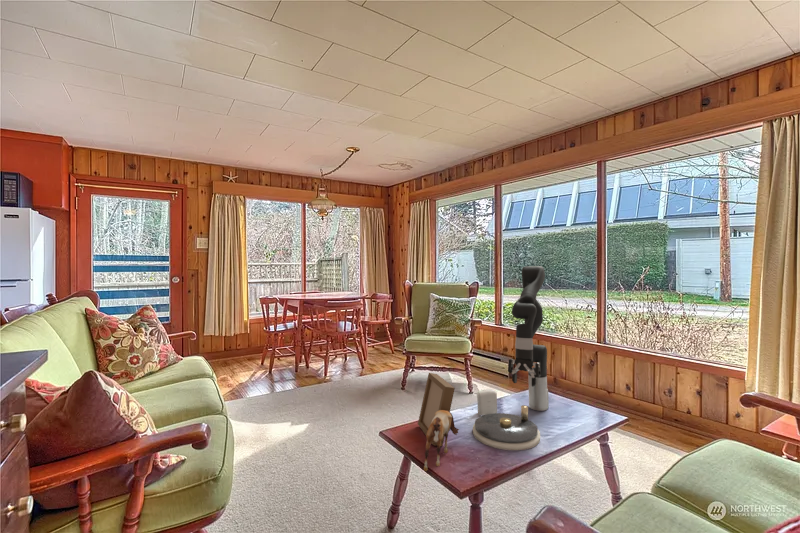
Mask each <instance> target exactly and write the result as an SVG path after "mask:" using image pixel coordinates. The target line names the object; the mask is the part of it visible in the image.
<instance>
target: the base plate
mask: <svg viewBox="0 0 800 533" xmlns="http://www.w3.org/2000/svg"><path fill="white" fill-rule="evenodd" d="M472 434H473V437H474V438H475V439H476V440H477V441H478V442H480V443H481V444H484V445H486V446H488V447H491V448H493V449H498V450H504V451H524V450H529V449H532V448H534V447H536V446H538V445H539V444H540V443H541V432H540V430H539V429H538V435H537V436H536V438H534V439H533V440H531V441H527V442H523V443H504V442H498V441H494V440H491V439H488V438H486V437H484V436H482V435H481V434H479V433H478V432H477V431H476V429H475V422H474V424H473V425H472Z"/></svg>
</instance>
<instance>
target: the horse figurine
mask: <svg viewBox="0 0 800 533" xmlns="http://www.w3.org/2000/svg"><path fill="white" fill-rule="evenodd" d="M449 428H450V430H449ZM459 430H460V429H459V428H457V427H456V426H455V421H454V416H453V414H452V413H451V412H449V411H445V410H439V411H437V412H436V413H435V417H434V418H433V420H432V422H431V424H430V426H429V429H428V431H427V435H425V437H426V444H425V452H424V465H423V471H424V472H427V471H428V469H429V466H428V457H429V451H430V448H431V445H432V442H437V446H436V462H435V466H436V467H440V463H441V462H440V457H441V456H440V451H441V447H443V446H442V442H441V441H442V439H443V434H444V433H445V437H444V449H443V453H444V454H447V453H448V438H449V437H448V436H449V434H448V433H449V431H451V432H452V434H453V435H455V436H457V435H458V434H459Z"/></svg>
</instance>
